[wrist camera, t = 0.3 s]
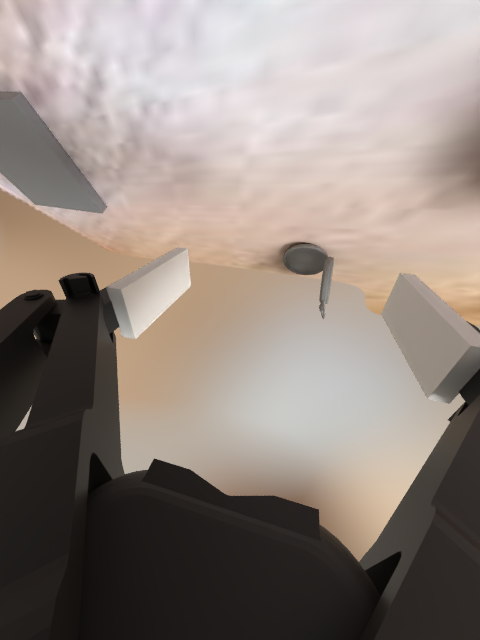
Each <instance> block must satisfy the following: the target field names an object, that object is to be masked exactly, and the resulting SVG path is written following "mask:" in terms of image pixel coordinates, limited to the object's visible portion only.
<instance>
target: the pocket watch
mask: <svg viewBox="0 0 480 640" xmlns="http://www.w3.org/2000/svg"><path fill="white" fill-rule="evenodd" d="M283 261H284V264H285V266H286V267H287V268H288V269H289V270H290V271H292V272H295V273H297V274H301V275H313V274H317V273H319V272H321V271H323V275H322V282H321V290H320V302H321V304H320V306H319V309H320V311H321V314H322V318H324V317H325V309H324V308H325V305H324V304H327V303H328V299H329V294H330V287H331V280H332V273H333V264H334V258H332V257H328V256H327V254H326V252H325V251H324V250H323V249H321V248H320V247H318V246H315V245H312V244H299V245H295V246H293V247H291V248H289V249H288V250H287V251H286V253H285V254H284V258H283Z"/></svg>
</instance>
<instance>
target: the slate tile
mask: <svg viewBox="0 0 480 640" xmlns="http://www.w3.org/2000/svg"><path fill="white" fill-rule="evenodd" d="M0 172H1V173H2V174H3V175H4V176H5V177H6V178H7V179H8V180H9V181H10V182H11V183H12V184H14V185H15V186H16V187H17V188H18V189H19V190H20V191H21V192H22V193H23V194H24V195H25V196H27V197H28V198H29V199H30V200H31V201H32V202H33V203H34V204H35V205H42V206H50V207H58V208H65V209H73V210H80V211H88V212H95V213H103V212H104V211H105V209H106V208H107V206H106V205H105V203H104V202H103V201H102V199H101V198H100V197H99V195H98V194H97V193H96V191H95V190H94V189H93V187H92V186H91V185H90V183H89V182H88V181H87V179H86V178H85V177H84V175H83V174H82V173H81V171H80V170H79V169H78V167H77V166H76V165H75V163H74V162H73V161H72V159H71V158H70V157H69V156H68V154H67V153H66V152H65V150H64V149H63V148H62V146H61V145H60V144H59V142H58V141H57V140H56V138H55V137H54V136H53V134H52V133H51V132H50V130H49V129H48V128H47V126H46V125H45V124H44V122H43V121H42V120H41V118H40V117H39V116H38V114H37V113H36V112H35V110H34V109H33V108H32V106H31V105H30V104H29V102H28V101H27V100H26V98H25V97H24V96H23V94H22V93H21V92H0Z"/></svg>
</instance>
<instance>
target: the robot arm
mask: <svg viewBox="0 0 480 640" xmlns="http://www.w3.org/2000/svg"><path fill="white" fill-rule="evenodd" d="M59 282H60V285H61V287H62V289H63V291H64V294H65V296H66V300H55V298H54V296H53V294H52V292H51V291H49V290H32V291H28V292H26V293H24V294H21V295H19V296H18V297H16V298H15V299H13V300H12V301H11V302H10V303H8V304H7V305H6V306H4V307H3V308H2V309H1V310H0V640H480V330H479V329H478V328H477V327H476V326H474V325H472V324H471V323H469V322H467V321H465V320H464V319H463V318H462V317H461V316H460V315H459V314H458V313H457V312H455V311H454V310H453V309H452V308H451V307H450V306H449V305H448V304H447V303H446V302H444V301H443V300H442V299H441V298H440V297H439V296H438V295H437V294H436V293H434V292H433V291H432V290H431V289H430V288H429V287H428V286H427V285H426V284H425V283H423V282H422V281H421V280H420V279H419V278H418V277H417V276H416V275H412V274H403V273H400V274H399V276H398V279H397V281H396V283H395V285H394V287H393V289H392V291H391V294H390V296H389V298H388V300H387V302H386V304H385V307H384V309H383V311H382V313H381V315H382V317H383V318H384V320H385V322H386V324H387V326H388V327H389V329H390V331H391V333H392V335H393V337H394V338H395V340H396V342H397V344H398V346H399V348H400V349H401V351H402V353H403V355H404V357H405V359H406V360H407V362H408V364H409V366H410V368H411V370H412V371H413V373H414V375H415V377H416V378H417V381H418V382H419V384H420V386H421V388H422V390H423V391H424V393H425V395H426V397H427V399H431V400H436V401H440V402H445V403H450V402H451V401H452V400H453V399H454V398H455V397H456V396H457V395H458V394H459V393H460V394H461V396H462V397H463V399H464V400H465V401H466V402H465V403H464V404H463V405H462V406H461V407H460V408H459V409H458V410H457V411H456V412H455V413H454V414H453V415H452V416H451V417H450V418H449V419H448V420H449V421H450V424H449V425H448V427H447V428H446V430H445V432H444V434H443V435H442V436H441V438H440V440H439V441H438V443H437V444H436V446H435V448H434V449H433V451H432V453H431V454H430V456H429V457H428V459H427V461H426V462H425V464H424V465H423V467H422V469H421V470H420V472H419V473H418V475H417V477H416V478H415V480H414V481H413V483H412V485H411V486H410V488H409V490H408V491H407V493H406V494H405V496H404V497H403V499H402V501H401V502H400V504H399V505H398V507H397V509H396V510H395V512H394V514H393V515H392V517H391V518H390V520H389V522H388V524H387V525H386V526H385V528H384V530H383V531H382V533H381V534H380V536H379V538H378V539H377V541H376V542H375V543H374V545H373V546H372V547H371V548H370V549H369V551H368V552H367V553H366V554H365V555H364V556H363V558H362V559H361V560H360V562H358V561H357V560H356V559H355V557H354V556H353V555H352V554H351V552H350V551H349V550H348V549H347V548H346V547H345V546H344V545H343V544H342V543H341V542H340V541H339V540H338V539H337V538H336V537H335V536H334V535H332V534H331V533H330V532H329V531H328V530H327V529H325V528H324V527H322V526H321V525H320V524H319V510H318V509H315V508H312V507H309V506H305V505H302V504H299V503H296V502H293V501H289V500H286V499H283V498H279V497H276V496H228V495H226V494H224V493H222V492H221V491H220V490H218V489H217V488H215V487H214V486H212V485H211V484H210V483H208V482H207V481H205V480H204V479H203V478H201V477H200V476H198V475H197V474H195V473H194V472H193V471H191V470H189V469H186V468H183V467H180V466H176V465H173V464H170V463H167V462H164V461H161V460H157V459H154V460H153V462H152V463H151V465H150V467H149V469H148V470H142V471H136V472H132V473H128V474H124V470H123V466H122V461H121V444H120V422H119V402H118V401H119V400H118V378H117V357H116V337H115V334H114V330H116V329H117V328H118V327H119V328H120V331H121V334H122V336H123V337H128V338H133V339H136V338H137V337H138V336H139V335H140V334H141V333H142V332H143V331H144V330H145V329H146V328H148V327H149V326H150V325H151V324H152V323H153V322H154V321H155V320H156V319H157V318H158V317H159V316H160V315H161V314H162V313H163V312H164V311H165V310H166V309H167V308H168V307H169V306H170V305H171V304H173V303H174V302H175V301H176V300H177V298H179V297H180V296H181V295H182V294H183V293H184V292H185V291H186V290H187V289H188V288H189V287H190V286H191V280H190V270H189V259H188V249H186V248H175V249H174V250H172V251H170V252H168V253H166V254H165V255H163V256H161V257H159V258H157V259H156V260H154V261H152V262H150V263H148V264H147V265H145V266H143V267H141V268H139V269H138V270H136V271H134V272H132V273H131V274H129V275H127V276H125V277H123V278H122V279H120V280H118V281H116V282H114V283H113V284H111V285H109V286H107V287H106V288H104V289H102V290H100V291H99V288H98V285H97V283H96V280H95V277H94V275H93V274H91V273H76V274H71V275H67V276H65V277H63V278H61V279H60V280H59ZM33 333H34V334H33ZM34 335H35V336H36V338H37V339H35V337H34ZM32 404H33V405H32ZM31 406H32V408H31V411H30V414H29V417H28V420H27V423H26V426H25V428H24V429H22V430H19V431H16V429H17V428H18V426H19V425H20V423H21V422H22V420H23V418H24V417H25V415H26V414H27V412H28V411H29V409H30V407H31ZM15 431H16V432H15Z"/></svg>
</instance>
